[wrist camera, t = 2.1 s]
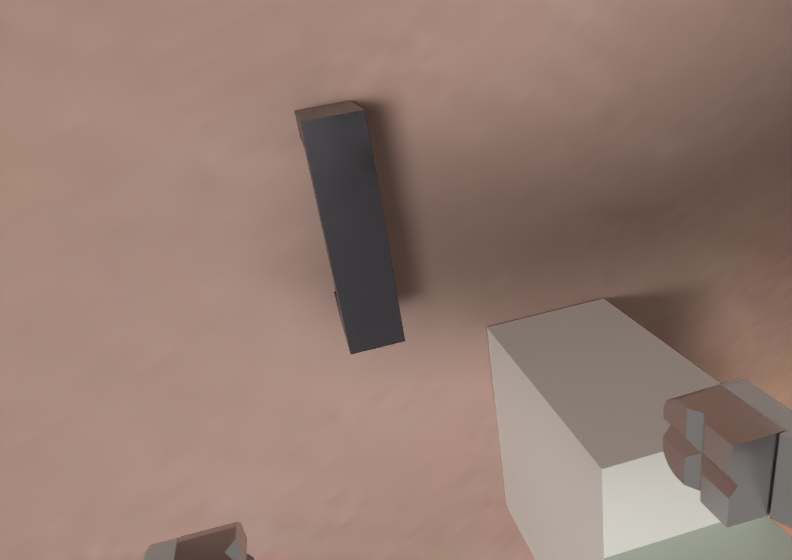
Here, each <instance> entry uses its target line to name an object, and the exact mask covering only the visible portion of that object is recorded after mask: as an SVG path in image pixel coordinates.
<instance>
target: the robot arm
mask: <svg viewBox="0 0 792 560" xmlns="http://www.w3.org/2000/svg"><path fill="white" fill-rule="evenodd" d="M663 418H664V419H665V420H666V421H667V422H668V423H669V424H670V426H669V428H668V429H667V431H666V433H665V434H664V436H663V452H664V455H665V458H666V461H667V463H668V466H669V467H670V469H671V470H672V472H673V473H674V475H675V476H676V477H677V478H678V479H679V480H680V481H681V482H682V483H683V484H684V485H686V486H688V487H691V488H693V489H696V490H699V491H700V502H701V503H702V504H703V505H704V506H705V507H706V508H707V509H708V510H709V511H710V512H711V513H712V514H713V515H714V516H715V517H716V518H717V519H719V520H720V521H721V522H722V523H723V524H724V525H725V526H726V527H731V526H734V525H738V524H741V523H744V522H748V521H751V520H755V519H758V518H762V517H765V516H769V515H770V518H771V519H774V520H776V521H778V522H780V523H782V524H784V525H786V526H788V527H790V528H792V410H791V409H789V408H788V407H786V406H785V405H783V404H782V403H780V402H779V401H777V400H776V399H774V398H773V397H771V396H770V395H768V394H767V393H765V392H763V391H762V390H760V389H759V388H757V387H756V386H754V385H753V384H751V383H750V382H748V381H747V380H743V379H739V378H737V379H734V380H730V381H727V382H724V383H720V384H717V385H714V386H713V387H709V388H705V389H702V390H699V391H695V392H692V393H688V394H685V395H681V396H678V397H675V398H671V399H668V400H667V401H666V403H665V405H664V412H663ZM144 560H254V558H253V557H252V556H250V555H249V554H247V537H246V535H245V532H244V530H243V527H242V524H241V523H239V522H235V523H231V524H227V525H223V526H220V527H216V528H212V529H208V530H204V531H200V532H196V533H193V534H189V535H185V536H181V537H180V538H176V539H172V540H168V541H164V542H160V543H156V544H153V545H150V546H149V548H148V549H147V551H146V552H145V556H144Z"/></svg>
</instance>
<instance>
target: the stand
mask: <svg viewBox="0 0 792 560" xmlns="http://www.w3.org/2000/svg"><path fill="white" fill-rule="evenodd" d="M487 334H488V343H489V352H490V361H491V370H492V379H493V389H494V398H495V407H496V416H497V425H498V434H499V444H500V453H501V462H502V471H503V480H504V489H505V499H506V506H507V508H508V510H509V512H510V514H511V515H512V517H513V519H514V521H515V523H516V525H517V527H518V529H519V530H520V532H521V534H522V536H523V538H524V540H525V542H526V543H527V545H528V547H529V549H530V551H531V553H532V555H533V557H534V558H535V560H792V538H791V537H790V536H789V535H788V534H787V533H786V532H785V531H784V530H783V529H781V528H780V527H779V526H778V525H777V524H776V523H775V522H774V521H773V520H772V519H771V518H769V517H768V516H765V517H762V518H758V519H755V520H751V521H748V522H744V523H741V524H738V525H734V526H731V527H726V526H725V525H724V524H723V523H722V522H721V521H720V520H719V519H717V518H716V517H715V516H714V515H713V514H712V513H711V512H710V511H709V510H708V509H707V508H706V507H705V506H704V505H703V504H702V503H701V502H700V491H699V490H696V489H693V488H691V487H688V486H686V485H684V484H683V483H682V482H681V481H680V480H679V479H678V478H677V477H676V476H675V475H674V473H673V472H672V470H671V469H670V467H669V466H668V463H667V461H666V458H665V455H664V452H663V436H664V434H665V433H666V431H667V429H668V428H669V426H670V424H669V423H668V422H667V421H666V420H665V419H664V418H663V412H664V405H665V403H666V401H667V400H668V399H671V398H675V397H678V396H681V395H685V394H688V393H692V392H695V391H699V390H702V389H705V388H709V387H713V386H714V385H717V384H720V383H719V382H718V381H717V380H715V379H714V378H712V377H711V376H710V375H708V374H707V373H706V372H704V371H703V370H701V369H700V368H699V367H697V366H696V365H694V364H693V363H692V362H690V361H689V360H688V359H686V358H685V357H683V356H682V355H681V354H679V353H678V352H677V351H675V350H674V349H672V348H671V347H670V346H668V345H667V344H666V343H664V342H663V341H661V340H660V339H659V338H657V337H656V336H655V335H653V334H652V333H650V332H649V331H648V330H646V329H645V328H644V327H642V326H641V325H639V324H638V323H637V322H635V321H634V320H633V319H631V318H630V317H628V316H627V315H626V314H624V313H623V312H622V311H620V310H619V309H617V308H616V307H615V306H613V305H612V304H610V303H609V302H608V301H606V300H605V299H604V298H603V299H599V300H595V301H591V302H587V303H583V304H579V305H575V306H571V307H567V308H563V309H559V310H555V311H551V312H547V313H543V314H539V315H535V316H531V317H526V318H522V319H518V320H514V321H510V322H506V323H502V324H498V325H494V326H490V327H487Z"/></svg>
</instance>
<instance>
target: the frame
mask: <svg viewBox="0 0 792 560" xmlns="http://www.w3.org/2000/svg"><path fill="white" fill-rule="evenodd" d="M295 115H296V120H297V124H298V129H299V134H300V138H301V140H302V143H303V145H304V147H305V152H306V156H307V161H308V166H309V170H310V175H311V179H312V184H313V188H314V193H315V198H316V202H317V207H318V211H319V216H320V221H321V225H322V230H323V234H324V239H325V243H326V248H327V253H328V257H329V262H330V266H331V271H332V276H333V280H334V285H335V289H336V292H334V293H335V297H336V302H337V307H338V311H339V315H340V319H341V322H342V326H343V329H344V333H345V336H346V340H347V343H348V347H349V350H350V354H354V353H358V352H363V351H367V350H371V349H375V348H379V347H383V346H387V345H391V344H395V343H399V342H403V341H405V338H404V332H403V327H402V321H401V315H400V309H399V304H398V298H397V292H396V286H395V281H394V275H393V269H392V263H391V258H390V252H389V246H388V240H387V234H386V229H385V223H384V217H383V211H382V206H381V200H380V194H379V188H378V183H377V177H376V171H375V165H374V160H373V154H372V148H371V142H370V136H369V131H368V125H367V119H366V113H365V109H363V108H361V107H359V106H358V105H356V104H354V103H353V102H351V101H344V102H339V103H333V104H328V105H323V106H317V107H312V108H307V109H301V110H296V111H295Z"/></svg>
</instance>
